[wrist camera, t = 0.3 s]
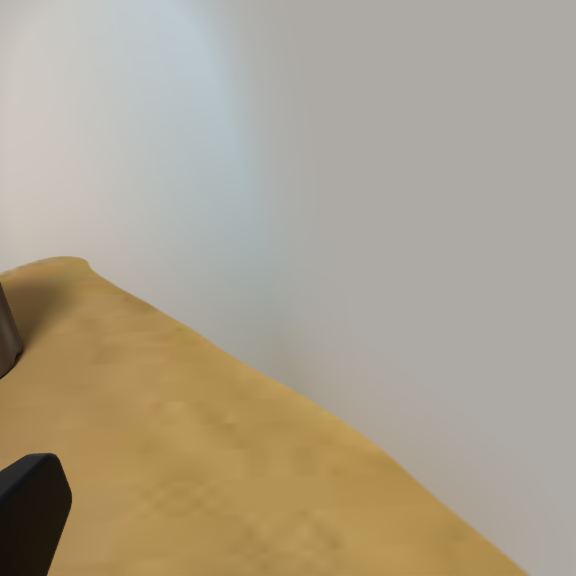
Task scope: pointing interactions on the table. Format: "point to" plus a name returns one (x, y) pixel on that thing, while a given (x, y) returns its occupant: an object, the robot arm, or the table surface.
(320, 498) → the table surface
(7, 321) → the plant pot
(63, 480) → the robot arm
